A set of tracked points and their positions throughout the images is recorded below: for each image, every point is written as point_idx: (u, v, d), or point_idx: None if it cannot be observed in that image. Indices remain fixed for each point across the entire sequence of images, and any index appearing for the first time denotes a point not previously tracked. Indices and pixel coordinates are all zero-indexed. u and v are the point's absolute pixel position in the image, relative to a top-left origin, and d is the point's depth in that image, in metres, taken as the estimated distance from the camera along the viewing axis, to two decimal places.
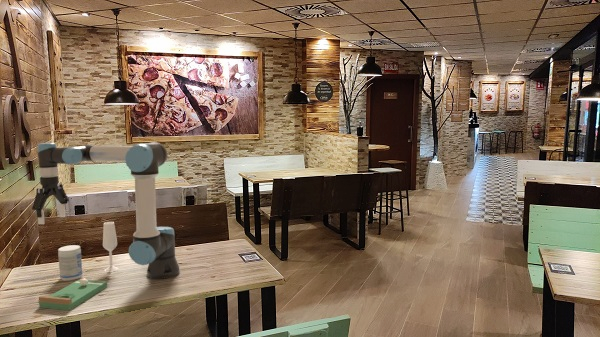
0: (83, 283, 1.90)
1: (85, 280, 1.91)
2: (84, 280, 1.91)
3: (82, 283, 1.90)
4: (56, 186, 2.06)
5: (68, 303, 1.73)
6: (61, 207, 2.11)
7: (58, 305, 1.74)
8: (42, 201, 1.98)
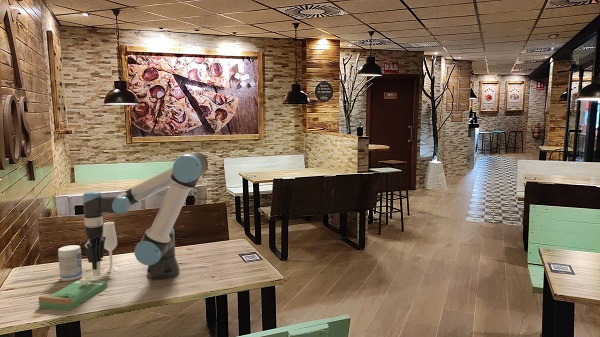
0: (83, 283, 1.90)
1: (85, 280, 1.91)
2: (84, 280, 1.91)
3: (82, 283, 1.90)
4: (101, 235, 2.01)
5: (68, 303, 1.73)
6: None
7: (58, 305, 1.74)
8: (94, 254, 1.97)
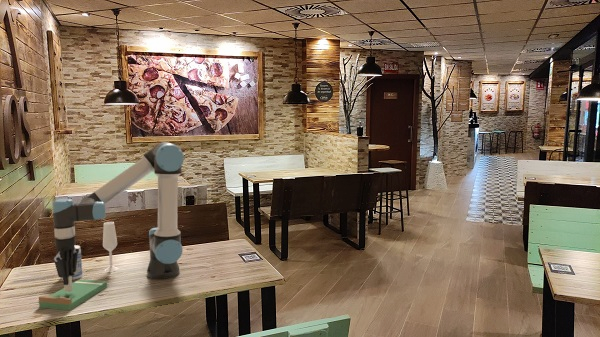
0: None
1: None
2: None
3: None
4: (73, 247, 1.83)
5: (68, 303, 1.73)
6: None
7: (58, 305, 1.74)
8: (65, 268, 1.79)
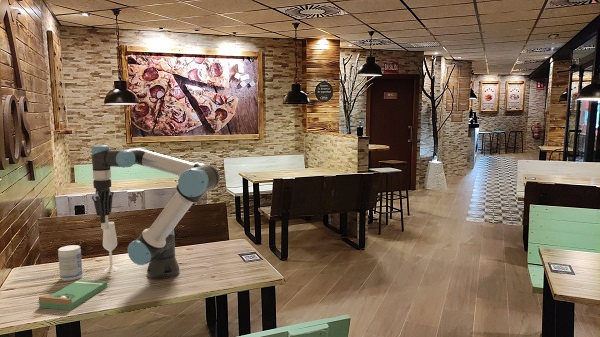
0: None
1: None
2: None
3: None
4: (109, 189, 2.03)
5: (68, 303, 1.73)
6: None
7: (58, 305, 1.74)
8: (102, 207, 1.99)
